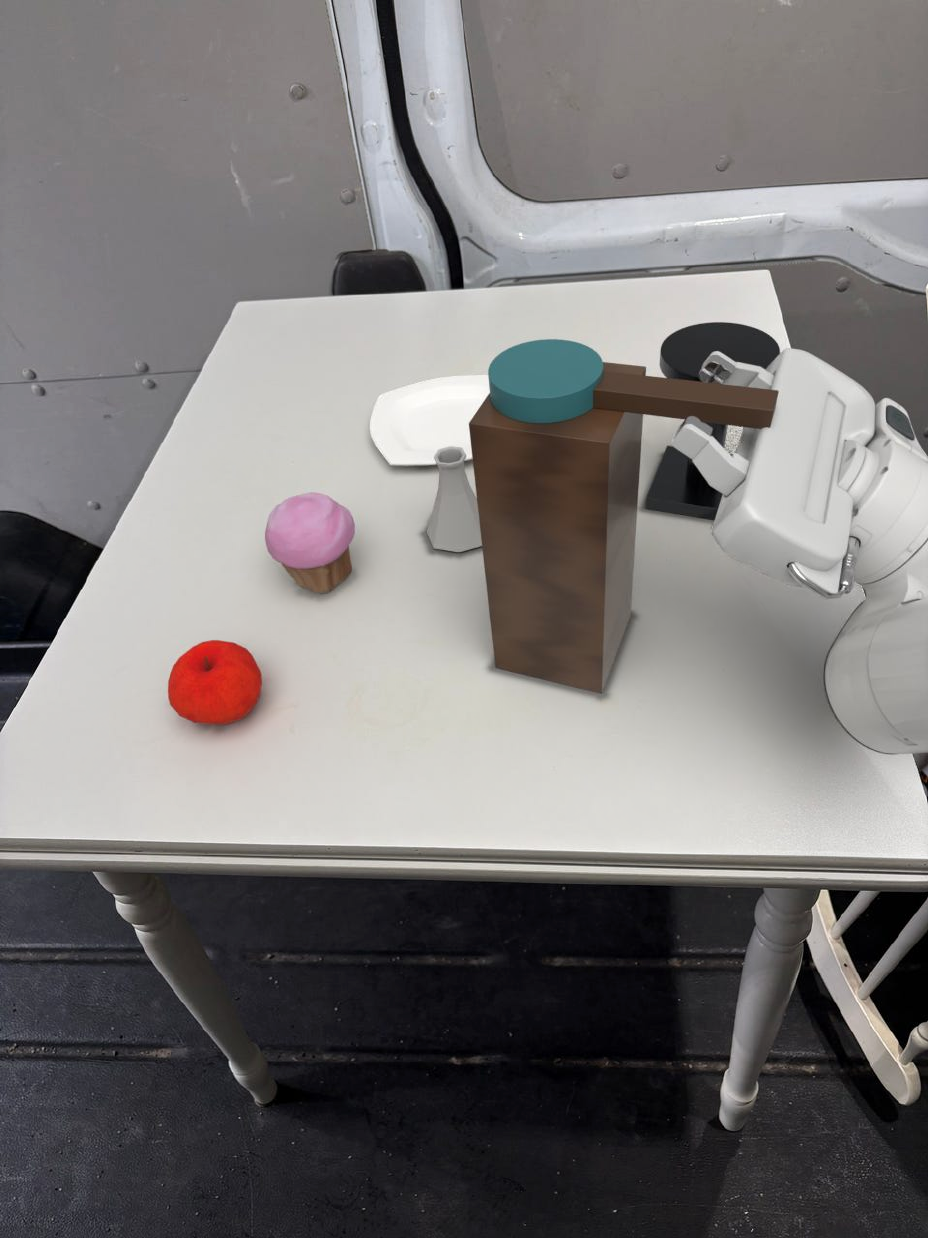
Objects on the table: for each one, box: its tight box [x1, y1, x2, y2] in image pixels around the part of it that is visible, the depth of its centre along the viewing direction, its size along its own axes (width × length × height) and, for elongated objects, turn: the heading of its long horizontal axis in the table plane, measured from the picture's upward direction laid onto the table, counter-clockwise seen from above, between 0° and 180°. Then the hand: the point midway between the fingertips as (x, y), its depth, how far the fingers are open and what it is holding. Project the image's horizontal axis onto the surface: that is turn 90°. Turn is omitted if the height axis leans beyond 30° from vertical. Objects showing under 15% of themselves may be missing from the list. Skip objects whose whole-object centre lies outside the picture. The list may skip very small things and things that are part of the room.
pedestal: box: [469, 361, 647, 694], centre depth 69 cm, size 10×10×26 cm
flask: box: [426, 446, 482, 553], centre depth 87 cm, size 7×7×10 cm
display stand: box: [644, 321, 781, 521], centre depth 86 cm, size 11×11×16 cm
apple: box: [167, 639, 263, 726], centre depth 73 cm, size 8×8×7 cm
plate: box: [369, 374, 490, 467], centre depth 104 cm, size 19×19×2 cm
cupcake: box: [264, 491, 356, 594], centre depth 84 cm, size 9×9×10 cm
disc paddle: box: [487, 338, 779, 429], centre depth 57 cm, size 20×8×2 cm, turn 68°
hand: (693, 394), depth 55 cm, fingers open, 7 cm apart
